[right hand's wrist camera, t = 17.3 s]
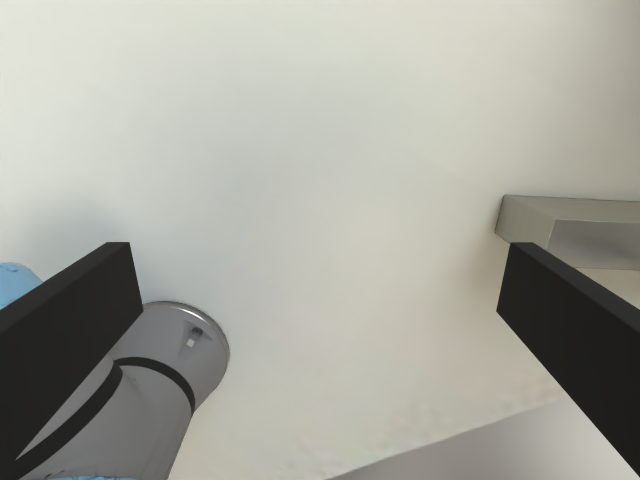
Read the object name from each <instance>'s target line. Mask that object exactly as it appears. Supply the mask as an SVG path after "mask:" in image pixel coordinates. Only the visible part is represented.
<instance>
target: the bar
mask: <svg viewBox="0 0 640 480" xmlns="http://www.w3.org/2000/svg"><path fill="white" fill-rule="evenodd" d="M495 234H497V235H498V236H500V237H501V238H502V239H504V240H505V241H507V242H508V243H509V244H510V243H511V242H533V243H535V244H537V245H538V246H540V247H541V248H543V249H544V250H546V251H548V252H549V253H551V254H552V255H554V256H556V257H557V258H559V259H560V260H562V261H563V262H565V263H567V264H568V265H570V266H571V267H577V268H598V269H619V270H639V271H640V202H631V201H612V200H593V199H574V198H555V197H536V196H517V195H504V198H503V202H502V206H501V210H500V214H499V218H498V222H497V226H496V230H495Z"/></svg>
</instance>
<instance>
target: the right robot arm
mask: <svg viewBox="0 0 640 480" xmlns="http://www.w3.org/2000/svg"><path fill="white" fill-rule="evenodd" d="M496 311H497V313H498V314H499V315H500V316H501V317H502V318H503V320H504V321H505V322H506V323H507V324H508V325H509V327H510V328H511V329H512V330H513V331H514V332H515V333H516V335H517V336H518V337H519V338H520V339H521V340H522V342H523V343H524V344H525V345H526V346H527V347H528V349H529V350H530V351H531V352H532V353H533V354H534V355H535V357H536V358H537V359H538V360H539V361H540V362H541V364H542V365H543V366H544V367H545V368H546V369H547V371H548V372H549V373H550V374H551V375H552V376H553V377H554V379H555V380H556V381H557V382H558V383H559V384H560V386H561V387H562V388H563V389H564V390H565V391H566V392H567V394H568V395H569V396H570V397H571V398H572V399H573V401H574V402H575V403H576V404H577V405H578V406H579V408H580V409H581V410H582V411H583V412H584V413H585V414H586V416H587V417H588V418H589V419H590V420H591V421H592V423H593V424H594V425H595V426H596V427H597V428H598V430H599V431H600V432H601V433H602V434H603V435H604V436H605V438H606V439H607V440H608V441H609V442H610V443H611V445H612V446H613V447H614V448H615V449H616V450H617V451H618V453H619V454H620V455H621V456H622V457H623V458H624V460H625V461H626V462H627V463H628V464H629V465H630V467H631V468H632V469H633V470H634V471H635V472H636V473H637V475H638V476H639V477H640V310H639V309H638V308H636V307H634V306H633V305H631V304H630V303H628V302H627V301H625V300H623V299H622V298H620V297H619V296H617V295H615V294H614V293H612V292H611V291H609V290H608V289H606V288H604V287H603V286H601V285H600V284H598V283H597V282H595V281H593V280H592V279H590V278H589V277H587V276H586V275H584V274H582V273H581V272H579V271H578V270H576V269H574V268H573V267H571V266H570V265H568V264H567V263H565V262H563V261H562V260H560V259H559V258H557V257H556V256H554V255H552V254H551V253H549V252H548V251H546V250H544V249H543V248H541V247H540V246H538V245H537V244H535V243H533V242H511V243H510V248H509V253H508V257H507V262H506V267H505V272H504V277H503V281H502V286H501V291H500V296H499V301H498V305H497V310H496ZM228 362H229V346H228V343H227V340H226V337H225V335H224V333H223V332H222V330H221V329H220V327H219V326H218V325H217V324H216V323H215V322H214V321H213V320H212V319H211V318H210V317H209V316H207V315H206V314H205V313H203V312H201V311H200V310H198V309H196V308H194V307H191V306H189V305H186V304H182V303H178V302H171V301H158V302H152V303H147V304H144V305H142V301H141V296H140V291H139V286H138V281H137V277H136V272H135V267H134V262H133V257H132V253H131V248H130V243H129V242H107V243H105V244H103V245H102V246H100V247H99V248H97V249H96V250H94V251H92V252H91V253H89V254H88V255H86V256H84V257H83V258H81V259H80V260H78V261H77V262H75V263H73V264H72V265H70V266H69V267H67V268H66V269H64V270H62V271H61V272H59V273H58V274H56V275H54V276H53V277H51V278H50V279H48V280H47V281H45V282H42V281H41V280H40V279H39V278H38V277H37V276H36V275H35V274H34V273H33V272H32V271H31V270H30V269H29V268H27V267H25V266H23V265H21V264H17V263H0V480H167V479H168V476H169V474H170V471H171V468H172V466H173V463H174V461H175V458H176V456H177V453H178V451H179V448H180V446H181V443H182V441H183V438H184V436H185V433H186V431H187V428H188V426H189V423H190V420H191V418H192V416H193V413H194V411H195V410H196V409H197V408H198V407H199V406H200V405H201V404H202V403H203V401H204V400H205V399H206V398H207V397H208V396H209V395H210V393H211V392H212V391H214V390H215V389H216V387H217V386H218V385H219V383H220V381H221V379H222V378H223V376H224V374H225V371H226V368H227V365H228Z"/></svg>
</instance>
